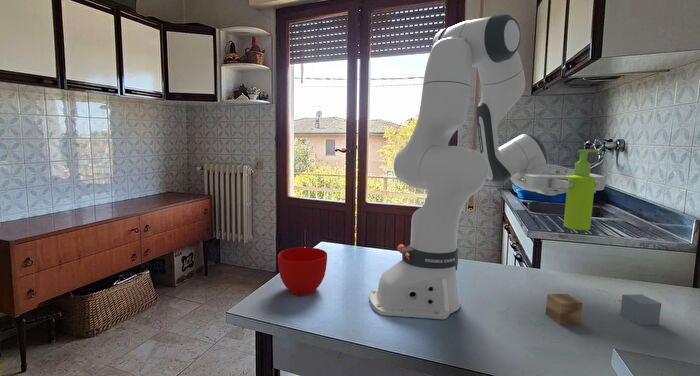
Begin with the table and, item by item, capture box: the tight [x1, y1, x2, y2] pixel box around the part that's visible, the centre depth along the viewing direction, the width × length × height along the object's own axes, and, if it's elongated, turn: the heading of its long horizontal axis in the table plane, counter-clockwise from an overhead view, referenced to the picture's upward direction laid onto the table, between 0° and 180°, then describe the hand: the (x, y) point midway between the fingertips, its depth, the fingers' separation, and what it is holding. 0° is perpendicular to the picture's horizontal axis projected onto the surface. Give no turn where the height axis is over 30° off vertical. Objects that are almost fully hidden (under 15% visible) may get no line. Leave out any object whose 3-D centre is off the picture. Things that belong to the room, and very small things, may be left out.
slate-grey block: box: [619, 293, 663, 326], centre depth 84 cm, size 5×5×5 cm
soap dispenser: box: [563, 148, 604, 231], centre depth 92 cm, size 6×7×20 cm
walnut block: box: [545, 293, 583, 325], centre depth 83 cm, size 5×5×5 cm
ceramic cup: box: [277, 246, 328, 296], centre depth 98 cm, size 13×17×10 cm
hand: (584, 185), depth 91 cm, fingers closed on soap dispenser, 6 cm apart
